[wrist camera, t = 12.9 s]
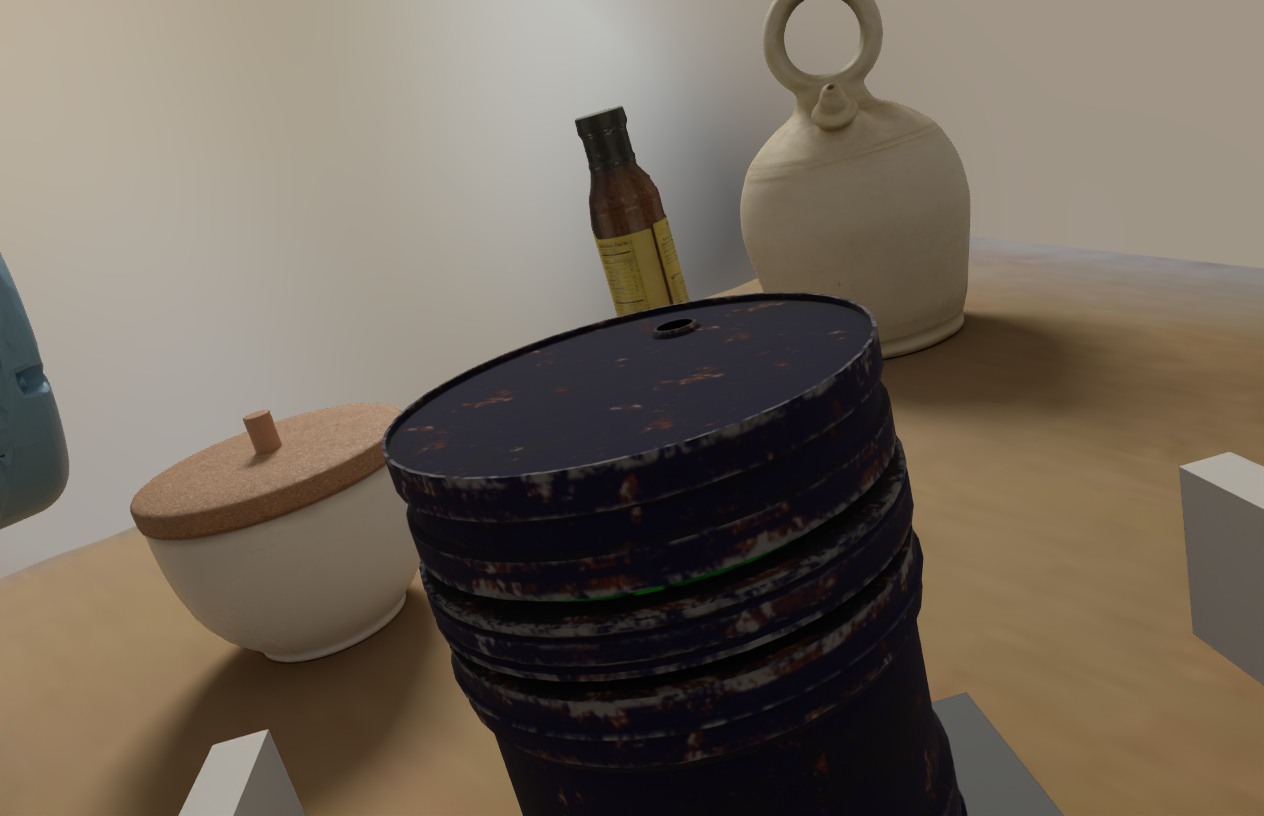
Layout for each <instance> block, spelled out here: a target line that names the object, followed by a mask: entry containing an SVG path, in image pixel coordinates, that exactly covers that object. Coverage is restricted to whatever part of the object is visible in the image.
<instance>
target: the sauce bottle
mask: <svg viewBox="0 0 1264 816" xmlns="http://www.w3.org/2000/svg"><path fill="white" fill-rule="evenodd" d="M575 123H576V127H577V132H578V135H579V137H580V138H581V139H582V141H583V144H584V148H585V152H586V155H587V158H588V162H589V169H590V173H591V189H590V196H589V206H590V216H591V226H592V231H593V234H594V237H595V241H596V244H597V247H598V251H599V254H600V257H601V261H602V264H603V268H604V271H605V274H606V278H607V281H608V285H609V288H610V292H611V295H612V299H613V302H614V306H615V309H616V312H617V316H618V317H619V316H623V315H627V314H631V313H636V312H640V311H644V310H649V309H654V308H658V307H663V306H668V305H673V304H679V303H684V302H690V301H689V298H688V294H687V291H686V287H685V283H684V279H683V276H682V272H681V269H680V265H679V261H678V258H677V254H676V250H675V246H674V242H673V239H672V235H671V231H670V227H669V224H668V220H667V216H666V215H665V214H664V211H663V207H662V203H661V199H660V196H659V192H658V189H657V187H656V186H655V185H654V183H653V182H652V180H651V179H650V176H649V175H648V174H647V173H645V172H644V171H643V170H642V169H641V168H640V167H639V166H638V165H637V163H636V159H635V153H634V152H633V151H632V147H631V143H630V140H629V136H628V132H627V129H626V123H627V117H626V115H625V112H624V109H623V107H622V106H617V107H613V108H609V109H606V110H603V111H600V112H596V113H592V114H589V115H586V116H583V117H580V118H577V119H576V120H575Z"/></svg>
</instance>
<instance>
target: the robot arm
mask: <svg viewBox="0 0 1264 816" xmlns="http://www.w3.org/2000/svg"><path fill="white" fill-rule="evenodd" d="M1179 472H1180V484H1181V495H1182V507H1183V519H1184V531H1185V543H1186V554H1187V566H1188V578H1189V590H1190V602H1191V613H1192V625H1193V634H1195V635H1196V636H1197V637H1199V638H1200V639H1201V640H1203V641H1204V642H1205V643H1207V644H1208V645H1209V646H1211V647H1212V648H1213V649H1215V650H1216V651H1218V652H1219V653H1220V654H1222V655H1223V656H1224V657H1226V658H1227V659H1228V660H1230V661H1231V662H1232V663H1234V664H1235V665H1237V666H1238V667H1239V668H1241V669H1242V670H1243V671H1245V672H1246V673H1247V674H1249V675H1250V676H1251V677H1253V678H1254V679H1255V680H1257V681H1258V682H1260V683H1261V684H1262V685H1264V467H1263V466H1260V465H1258V464H1256V463H1254V462H1252V461H1249V460H1247V459H1245V458H1243V457H1240V456H1238V455H1236V454H1234V453H1231V452H1228V453H1224V454H1221V455H1217V456H1214V457H1210V458H1207V459H1203V460H1200V461H1196V462H1193V463H1189V464H1186V465H1182V466H1179ZM68 476H69V459H68V451H67V445H66V440H65V436H64V431H63V427H62V423H61V419H60V415H59V412H58V408H57V405H56V402H55V399H54V395H53V392H52V389H51V386H50V384H49V382H48V379H47V377H46V376H45V375H44V374H43V363H42V361H41V358H40V355H39V350H38V346H37V342H36V339H35V336H34V333H33V330H32V327H31V325H30V322H29V319H28V317H27V314H26V311H25V309H24V306H23V304H22V301H21V298H20V296H19V294H18V291H17V289H16V286H15V284H14V281H13V279H12V277H11V275H10V272H9V270H8V268H7V266H6V264H5V261H4V260H3V258H2V255H1V253H0V529H2V528H4V527H7V526H10V525H12V524H14V523H17V522H19V521H21V520H23V519H26V518H28V517H30V516H33V515H35V514H37V513H39V512H42V511H44V510H45V509H47V508H48V507H50V506H51V505H52V504H53V503H54V502H55V501H56V500H57V499H58V498H59V497H60V496H61V494H62V493H63V491H64V489H65V487H66V484H67V480H68ZM179 816H306V815H305V813H304V810H303V808H302V806H301V803H300V801H299V799H298V796H297V794H296V792H295V789H294V787H293V785H292V782H291V780H290V778H289V775H288V773H287V771H286V769H285V766H284V764H283V762H282V759H281V757H280V755H279V752H278V750H277V748H276V745H275V743H274V741H273V738H272V736H271V734H270V731H269V729H267V730H263V731H260V732H256V733H253V734H250V735H246V736H243V737H239V738H236V739H232V740H229V741H225V742H222V743H218V744H215V745H213V746H212V748H211V750H210V752H209V754H208V756H207V758H206V760H205V762H204V764H203V767H202V769H201V771H200V773H199V775H198V777H197V779H196V781H195V783H194V785H193V787H192V789H191V791H190V793H189V795H188V797H187V799H186V801H185V803H184V806H183V808H182V810H181V812H180V814H179Z"/></svg>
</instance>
